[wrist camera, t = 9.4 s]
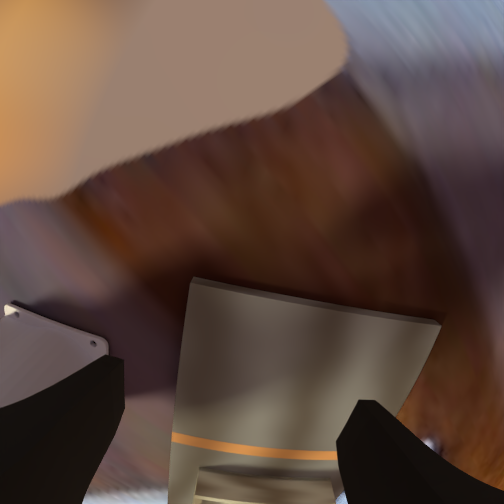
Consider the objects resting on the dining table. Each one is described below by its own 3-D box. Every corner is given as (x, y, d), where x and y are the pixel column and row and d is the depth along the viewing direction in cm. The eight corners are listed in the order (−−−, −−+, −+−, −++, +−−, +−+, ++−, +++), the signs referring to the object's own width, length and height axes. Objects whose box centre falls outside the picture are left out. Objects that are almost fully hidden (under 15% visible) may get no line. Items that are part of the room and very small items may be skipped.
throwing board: (168, 511, 24) (163, 537, 20) (193, 276, 17) (177, 305, 13) (305, 524, 25) (309, 550, 21) (434, 319, 18) (465, 347, 14)
